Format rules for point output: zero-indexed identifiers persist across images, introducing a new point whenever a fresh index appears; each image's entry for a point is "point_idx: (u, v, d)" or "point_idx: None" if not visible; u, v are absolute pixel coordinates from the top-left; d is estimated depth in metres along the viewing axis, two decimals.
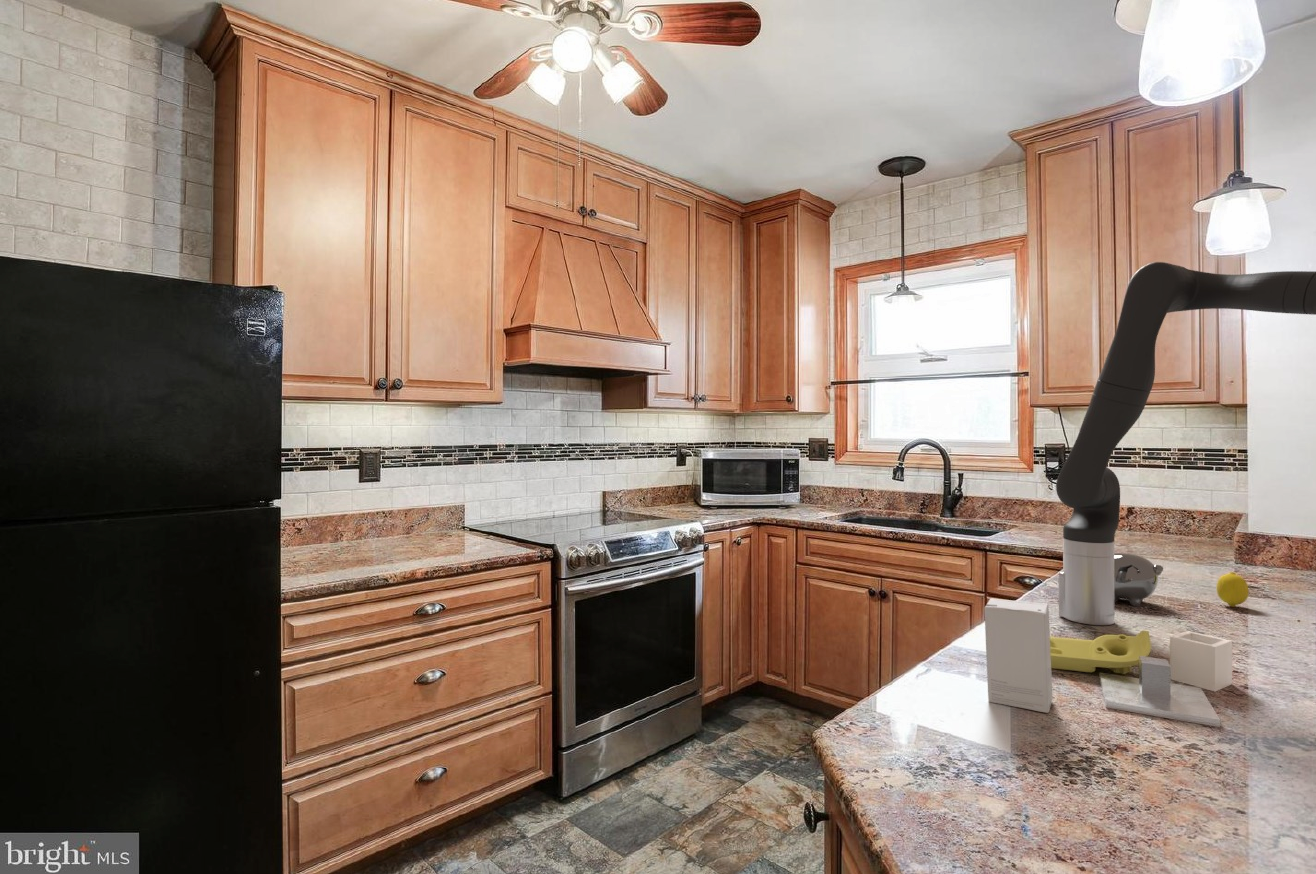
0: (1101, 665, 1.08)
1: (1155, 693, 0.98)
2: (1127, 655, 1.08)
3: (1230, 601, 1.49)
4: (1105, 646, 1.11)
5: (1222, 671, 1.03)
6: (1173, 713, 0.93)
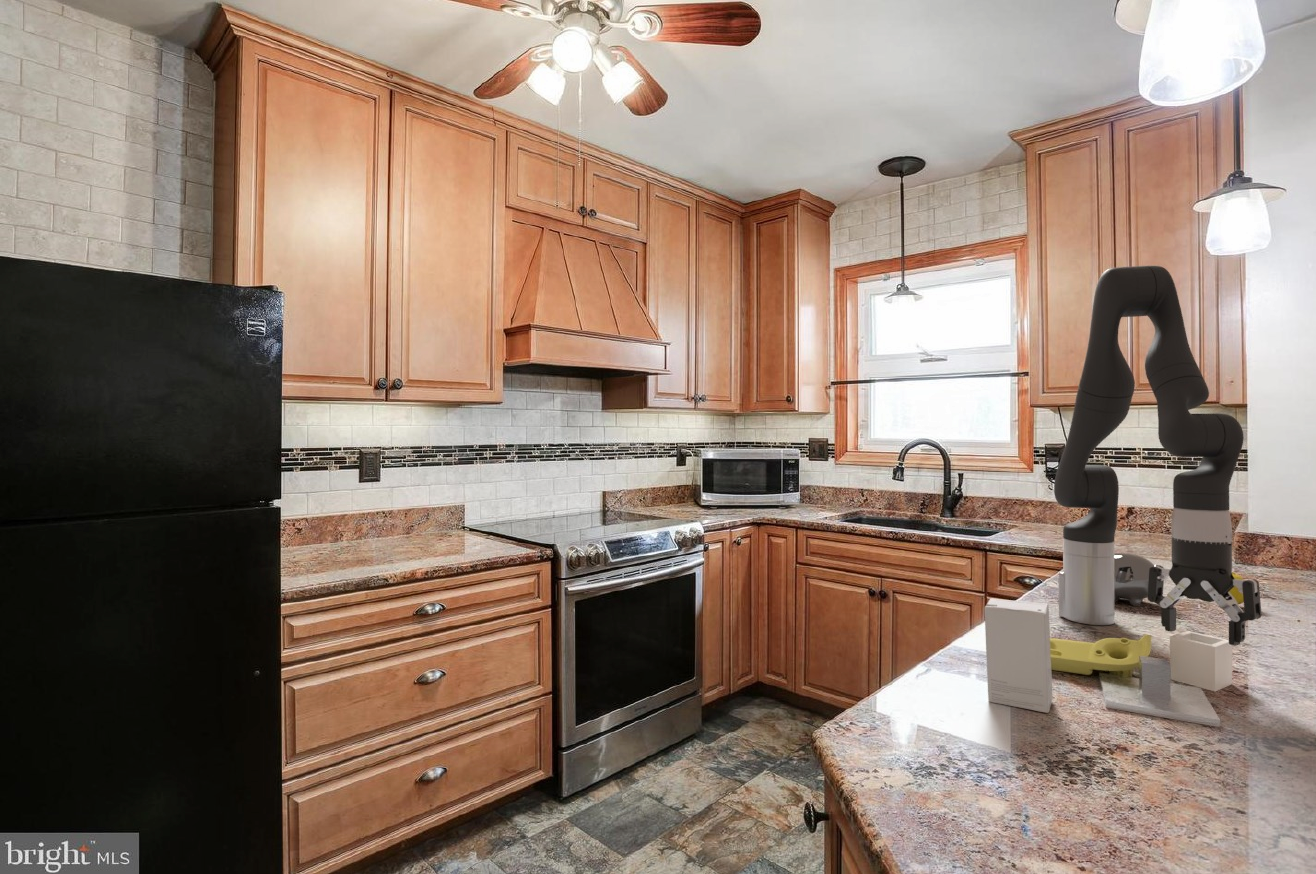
0: (1097, 668, 1.07)
1: (1155, 693, 0.98)
2: (1126, 659, 1.06)
3: None
4: (1105, 649, 1.10)
5: (1222, 671, 1.03)
6: (1173, 713, 0.93)
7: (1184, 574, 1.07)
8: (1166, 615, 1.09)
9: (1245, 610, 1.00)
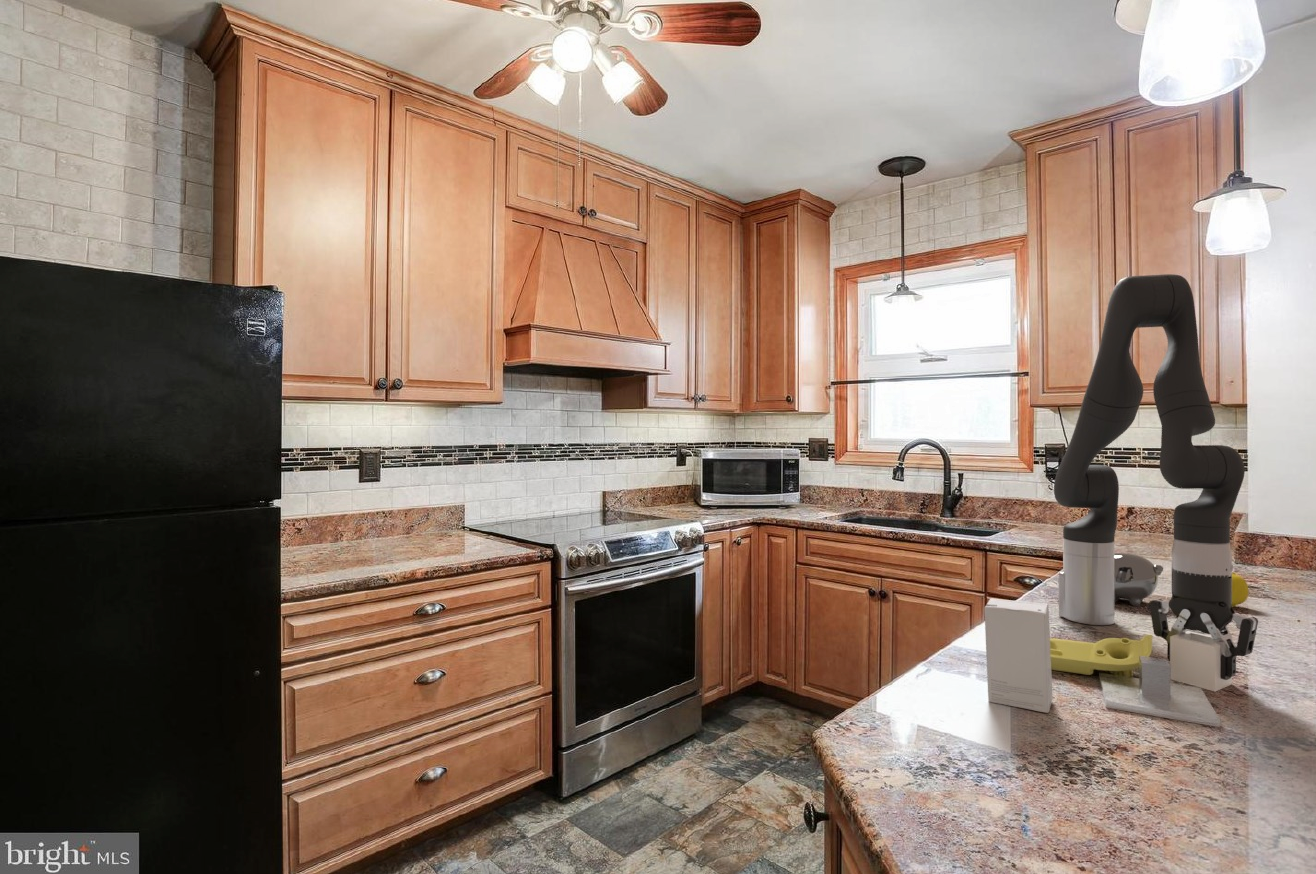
0: (1098, 668, 1.06)
1: (1155, 693, 0.98)
2: (1127, 659, 1.06)
3: None
4: (1106, 649, 1.10)
5: None
6: (1173, 713, 0.93)
7: (1184, 605, 1.07)
8: None
9: (1238, 645, 1.01)
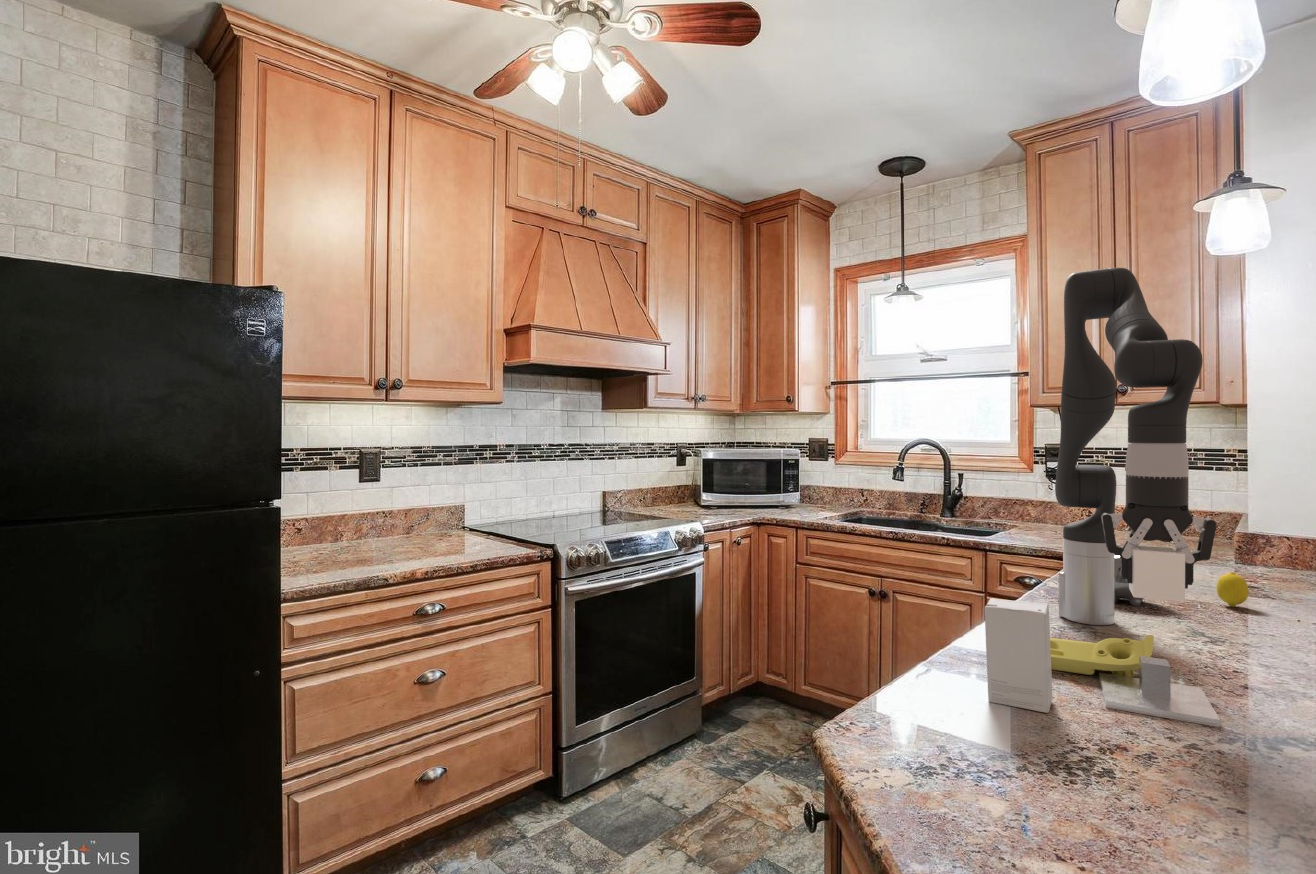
0: (1099, 668, 1.07)
1: (1155, 693, 0.98)
2: (1128, 659, 1.06)
3: (1230, 601, 1.49)
4: (1107, 649, 1.10)
5: None
6: (1173, 713, 0.93)
7: (1142, 515, 0.99)
8: (1129, 566, 0.99)
9: (1201, 549, 0.95)
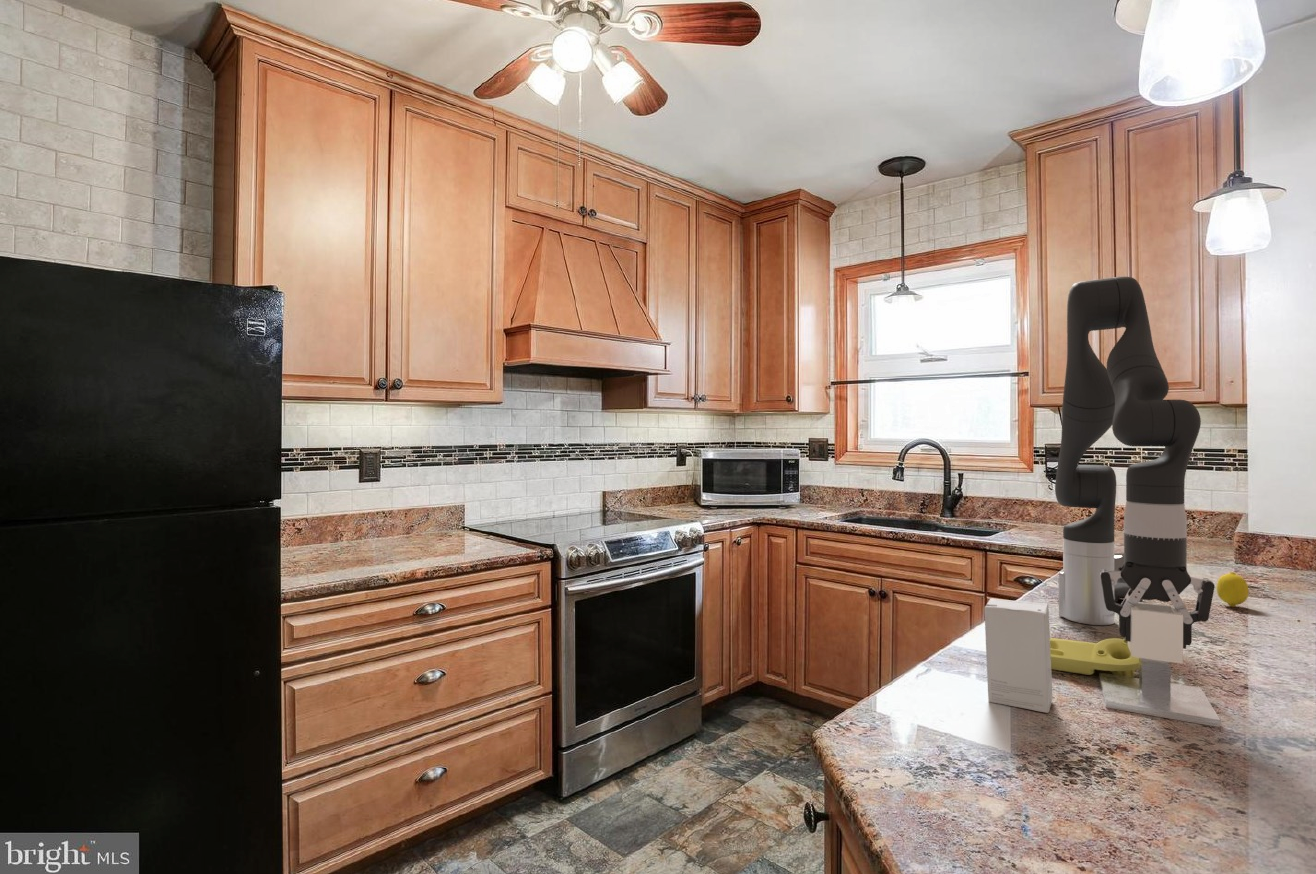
0: (1098, 668, 1.07)
1: (1155, 693, 0.98)
2: (1128, 659, 1.06)
3: (1230, 601, 1.49)
4: (1107, 649, 1.10)
5: None
6: (1173, 713, 0.93)
7: (1140, 574, 0.99)
8: (1127, 624, 1.00)
9: (1199, 611, 0.95)
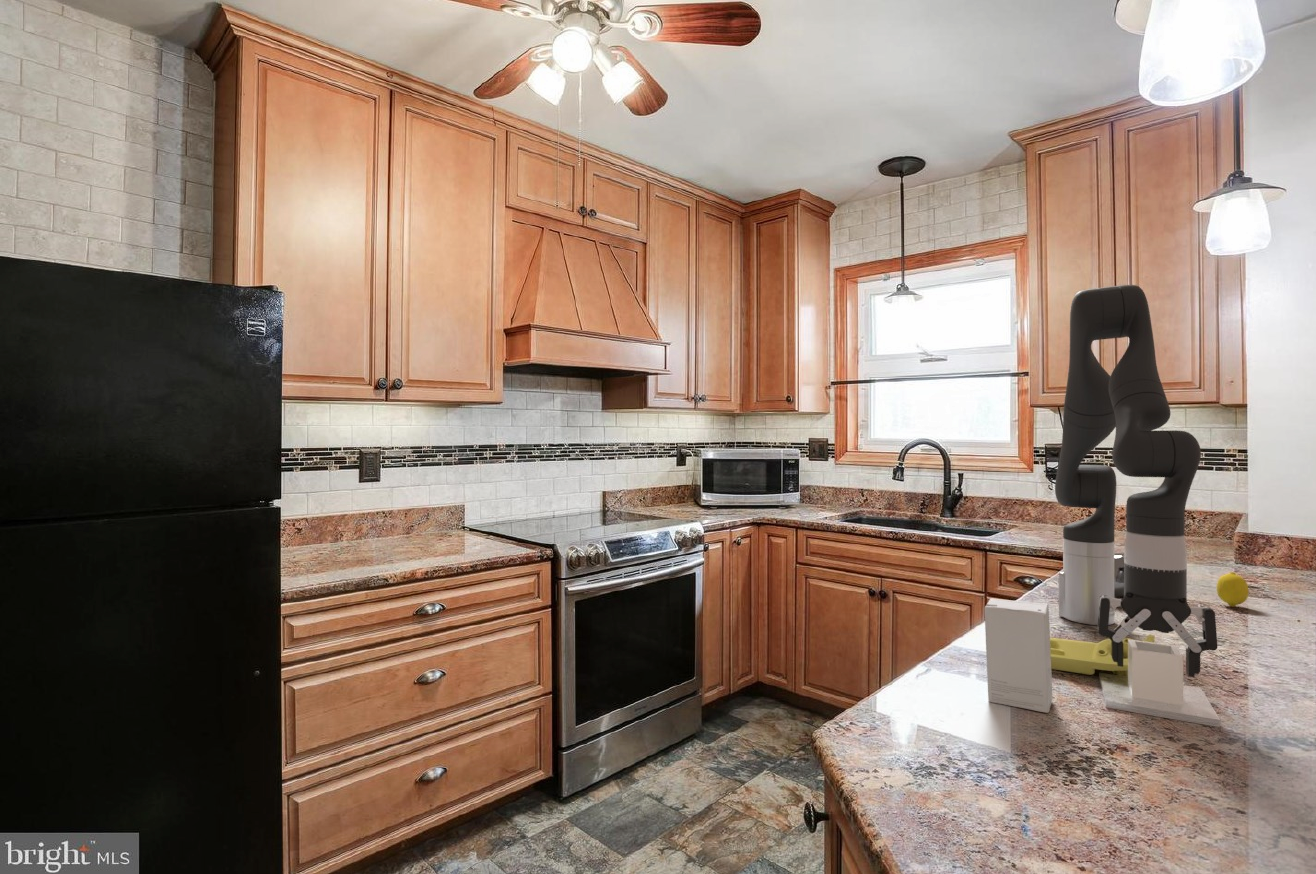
0: (1099, 667, 1.07)
1: None
2: None
3: (1230, 601, 1.49)
4: (1108, 649, 1.10)
5: None
6: (1173, 713, 0.93)
7: (1140, 604, 0.99)
8: (1119, 650, 1.00)
9: (1207, 640, 0.95)
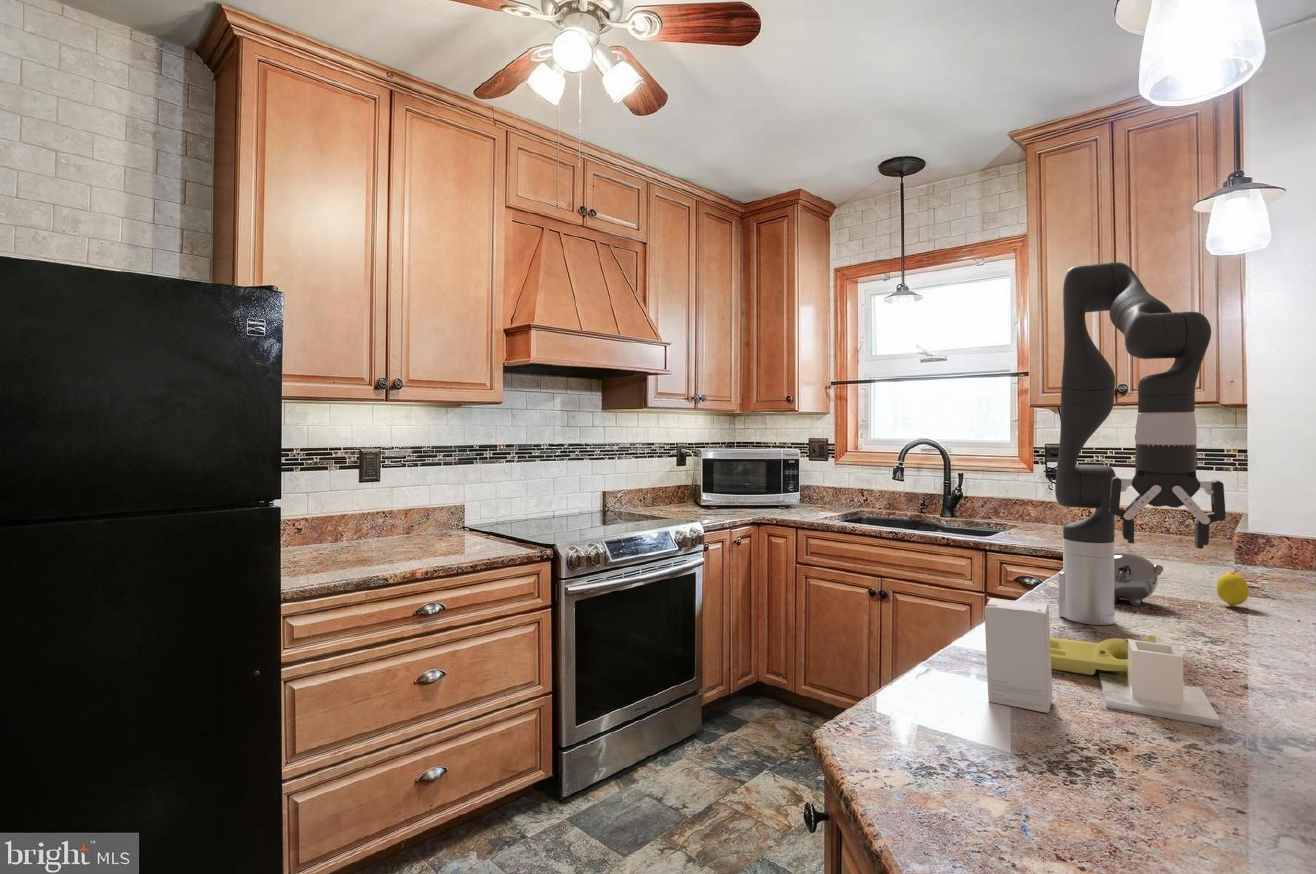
0: (1100, 668, 1.07)
1: None
2: None
3: (1230, 601, 1.49)
4: (1109, 649, 1.10)
5: None
6: (1173, 713, 0.93)
7: (1151, 482, 1.02)
8: (1130, 527, 1.04)
9: (1215, 511, 0.98)
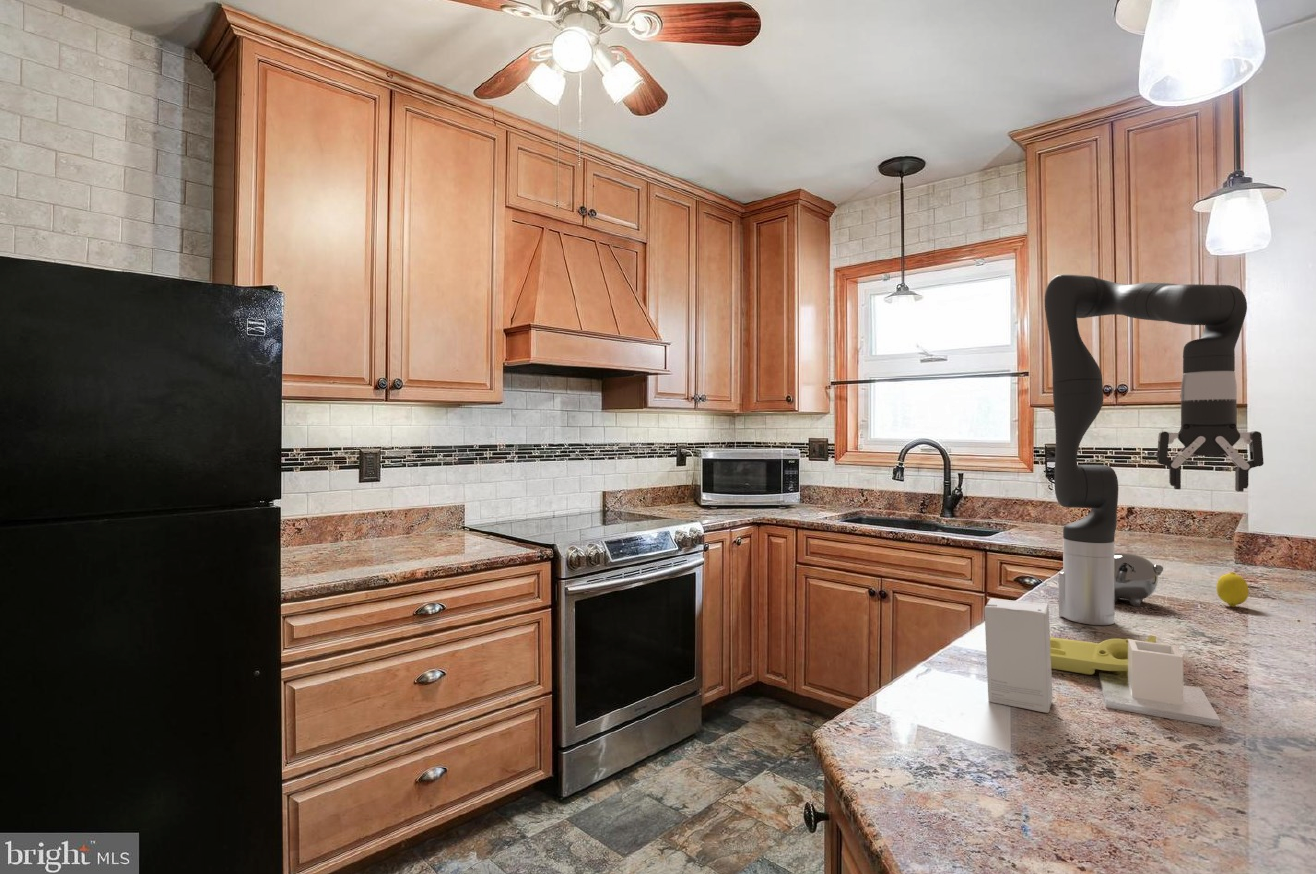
0: (1099, 667, 1.07)
1: None
2: None
3: (1230, 601, 1.49)
4: (1109, 649, 1.09)
5: None
6: (1173, 713, 0.93)
7: (1196, 434, 1.16)
8: (1177, 474, 1.17)
9: (1254, 458, 1.12)
